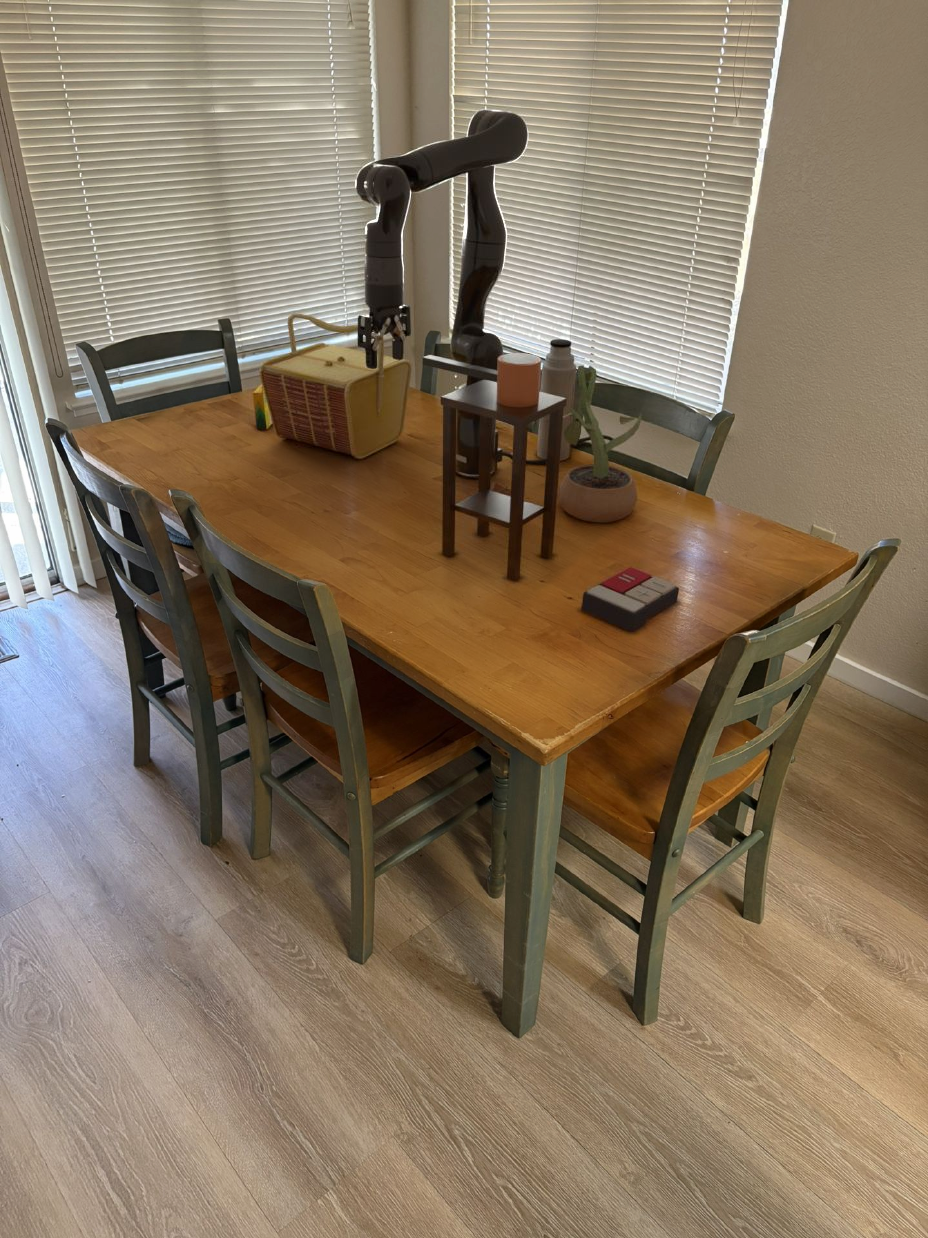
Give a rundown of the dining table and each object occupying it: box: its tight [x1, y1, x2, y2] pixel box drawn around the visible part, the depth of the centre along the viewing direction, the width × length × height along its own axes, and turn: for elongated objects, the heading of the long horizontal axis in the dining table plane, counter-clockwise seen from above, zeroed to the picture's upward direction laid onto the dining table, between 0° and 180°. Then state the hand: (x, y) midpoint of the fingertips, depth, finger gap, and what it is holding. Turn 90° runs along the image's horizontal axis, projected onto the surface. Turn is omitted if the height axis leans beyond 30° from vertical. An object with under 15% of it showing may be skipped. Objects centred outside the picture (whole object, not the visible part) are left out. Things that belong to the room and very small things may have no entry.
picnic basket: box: [258, 312, 413, 460], centre depth 229 cm, size 29×26×30 cm
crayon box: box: [252, 383, 273, 430], centre depth 243 cm, size 7×3×12 cm, turn 172°
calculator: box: [580, 566, 680, 633], centre depth 168 cm, size 11×4×15 cm
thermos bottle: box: [536, 338, 577, 461], centre depth 224 cm, size 8×8×28 cm
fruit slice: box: [490, 480, 511, 497], centre depth 203 cm, size 8×7×5 cm
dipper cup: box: [422, 352, 542, 408], centre depth 169 cm, size 25×8×8 cm, turn 53°
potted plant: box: [545, 365, 642, 524], centre depth 198 cm, size 22×18×30 cm
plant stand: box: [440, 379, 567, 582], centre depth 176 cm, size 18×14×32 cm
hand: (385, 363), depth 188 cm, fingers open, 8 cm apart
